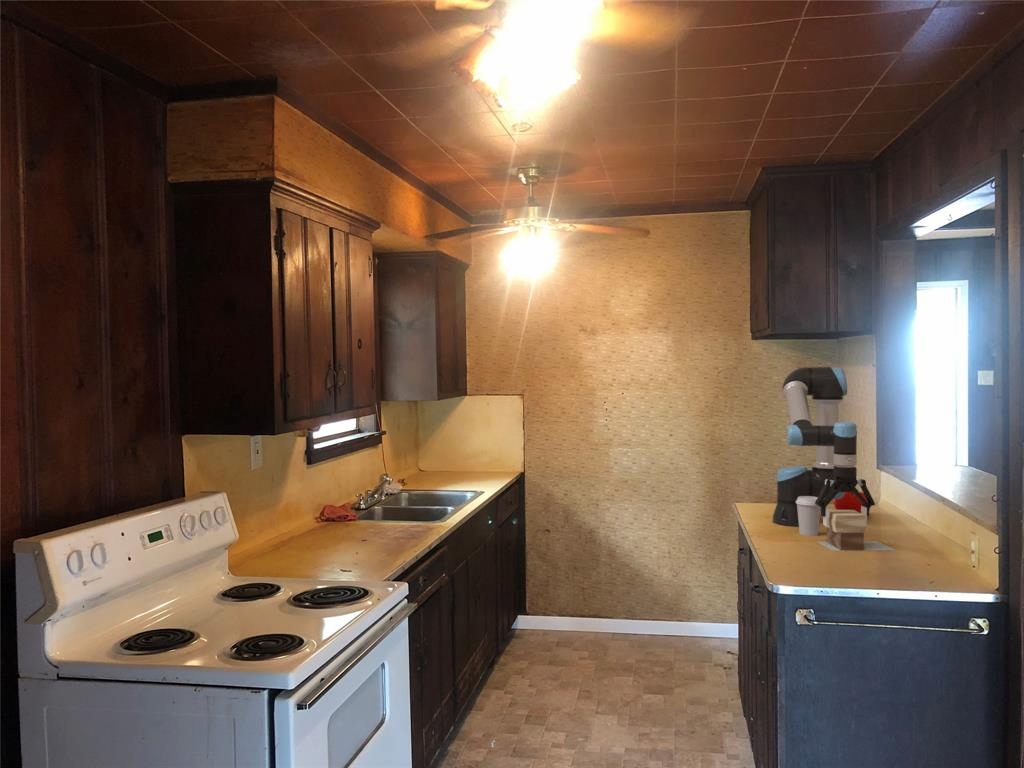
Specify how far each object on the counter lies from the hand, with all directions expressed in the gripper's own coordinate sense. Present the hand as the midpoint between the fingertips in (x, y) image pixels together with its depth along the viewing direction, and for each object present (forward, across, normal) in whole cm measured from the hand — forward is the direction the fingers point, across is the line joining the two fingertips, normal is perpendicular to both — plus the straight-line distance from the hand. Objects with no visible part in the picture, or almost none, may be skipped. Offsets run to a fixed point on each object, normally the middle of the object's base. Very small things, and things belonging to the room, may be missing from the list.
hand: (844, 525), depth 269 cm
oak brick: (+1, 0, 0) cm, 1 cm away
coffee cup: (+9, -5, +20) cm, 22 cm away
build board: (+9, +4, 0) cm, 9 cm away
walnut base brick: (+7, 0, 0) cm, 7 cm away
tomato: (+9, +28, +57) cm, 64 cm away
